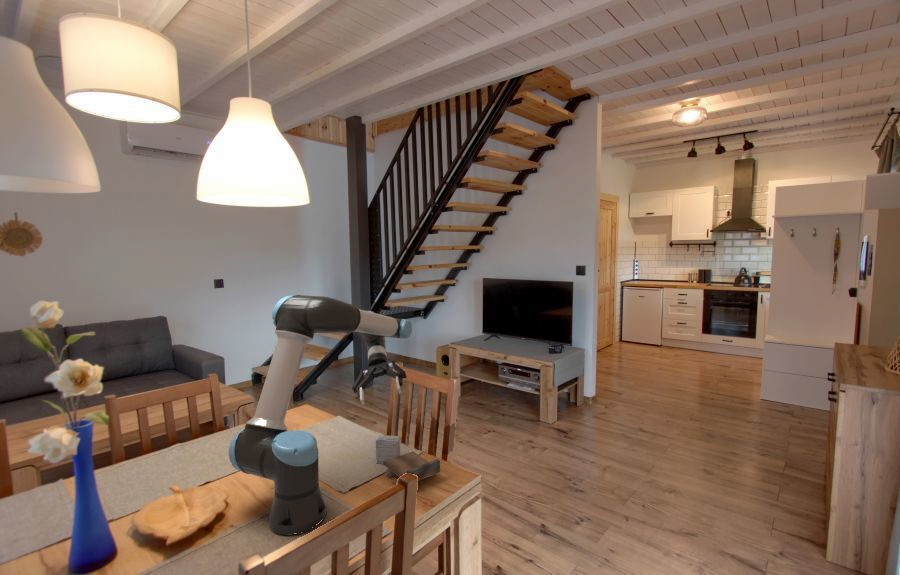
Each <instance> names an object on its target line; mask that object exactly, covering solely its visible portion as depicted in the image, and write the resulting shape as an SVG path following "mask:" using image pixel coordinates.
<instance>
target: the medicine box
mask: <svg viewBox="0 0 900 575" xmlns="http://www.w3.org/2000/svg"><path fill="white" fill-rule="evenodd" d="M401 453H402V452H401V436H400V435H378V436H377V438H376V440H375V456H376V457H375V459H376V464H377V465H378V464H381V465H383V462H384V461H387V460H389V459H392V458H395V457H398V456H401V455H402V454H401Z"/></svg>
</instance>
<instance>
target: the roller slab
mask: <svg viewBox="0 0 900 575" xmlns="http://www.w3.org/2000/svg"><path fill="white" fill-rule="evenodd" d="M382 465H383V466H384V467H385V468H387V469H386V471H385V474H386V477H387V478H391V477H394V476H397V477H399V478H400V476H402V475H403V474H405V473H411V474H415V475H417V476H418V481H417V482H419V481H422V480H425V479H427V478H430V477H431V476H434V475H437V474H439V473H441V460H440V459H439V458H436V459H433V460H431V461H428V460H427V459H425V458H424V457H422V456H421V455H419V454H418V453H416V452H415V451H408V452H407V453H404V454H401V456H398V457H395V458H392V459H389V460H387V461H384V462H383V464H382Z"/></svg>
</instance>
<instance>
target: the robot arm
mask: <svg viewBox="0 0 900 575" xmlns="http://www.w3.org/2000/svg"><path fill="white" fill-rule="evenodd" d="M271 316H272V317H271V318H272V320H273V321H272V322H273V325H274V326H275V331H274V333H275V335H276V337H277V341H276V345H275V348H274V350H273V354H272V357H271V361H270V363H269V367H268V370H267V374H266V377H265V380H264V384H263V387H262V390H261V393H260V396H259V400H258V403H257V406H256V409H255V412H254V415H253V417H252V418H251V419H249V420H248V421H246V423H245V425H244V428H242V429H240V430H239V431H238V432H236V434H235V435H234V436H233V437H232V439H231V440H230V441H231V442H230V444H229V447H228V458H229V461H230V463H231V466H232V467H233V468H234V469H236V470H237V471H240V472H242V473H244V474H246V475H252V476H255V477H256V476H257V477H258V478H259V477H260V478H263V479H267V480H271V481H273V483H274V484H273V486H274V497H273V500H272V504H271V507H270V509H269V514H268V525H269V528H270V530H271V532H272V533H275V534H277V535H280V534H282V535H281V536H288V535H287V534H294V533H297V535H299V534H298V533H301V532H303V533H301V534H304V533H307V532H310V531H311V530H313V529H312V527H315V526H316V524H318V523H319V522H320V521H321V520H322V519H323V518H324V517H325V518H326V516H327V503H326V501H325V498H324V495H323V494H322V491H321V488H320V477H319V476H320V475H319V474H320V473H319V472H320V471H319V468H320V466H319V447H318V441H317V438H316V437H315V436H314V435H313V434H312V433H310V432H309V431H305V430H299V429H296V430H288V427H287V426H286V424H285V419H286V417H287V412H288V408H289V406H290V402H291V399H292V396H293V392H294V388H295V385H296V382H297V378H298V374H299V371H300V367H301V364H302V361H303V357H304V353H305V350H306V346H307V344H309V343H311V342H313V340H314V336H315V334H351V333H354V332H357V333H361V334H362V336H363V339H364V342H365V345H366V350H367V364H368V368H367V369H365V370H364V369H360V372H359V375H358V376H357V378H356V380H355V381H354V383H353V385H352V386H351V389H352V391H353V393H355V394H356V395H357V397H358V399H359V400H360V404H361V406H365V392H364V390H365V388H366V387H368V385H369V384H370V383H371V381H374V380H375V378H380V377H383V376H384V375H385V376H387V377H391V378H393V379H395V381H396V389H397V392H398V393H399V395H401V394H402V389H401V387H402V386H403V385H404V382H403V379H407V377H408V376H407V373H406V371H405V370H404V369H402V368H401V367H400V366H399V365H398V364H397V363H396V360H394V359H393V360H392V361H391V362H390V363H389V362H388V355H387V347H386V338H393V339H409V338H410V337H411V335H412V330H413V324H412V322H411V320H409V319H404V318H395V317H392V316H388V315H384V314H380V313H376V312H375V311H372V310H363V309H360V308H359V307H358V306H357V305H356V304H352V303H349V302H346V301H343V300H339V299H336V298H333V297H329V296H324V295H322V296H321V295H320V296H319V295H318V296H317V295H303V294H302V295H301V294H294V295H287V296H283V297H282V298H280V299H279V300H278V301H277V303H276V304H275V305H274V307H273V310H272V315H271ZM390 368H391V369H390ZM392 369H393V370H392ZM325 515H326V516H325ZM325 518H324V519H325ZM315 528H316V527H315ZM285 534H286V535H285Z"/></svg>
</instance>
